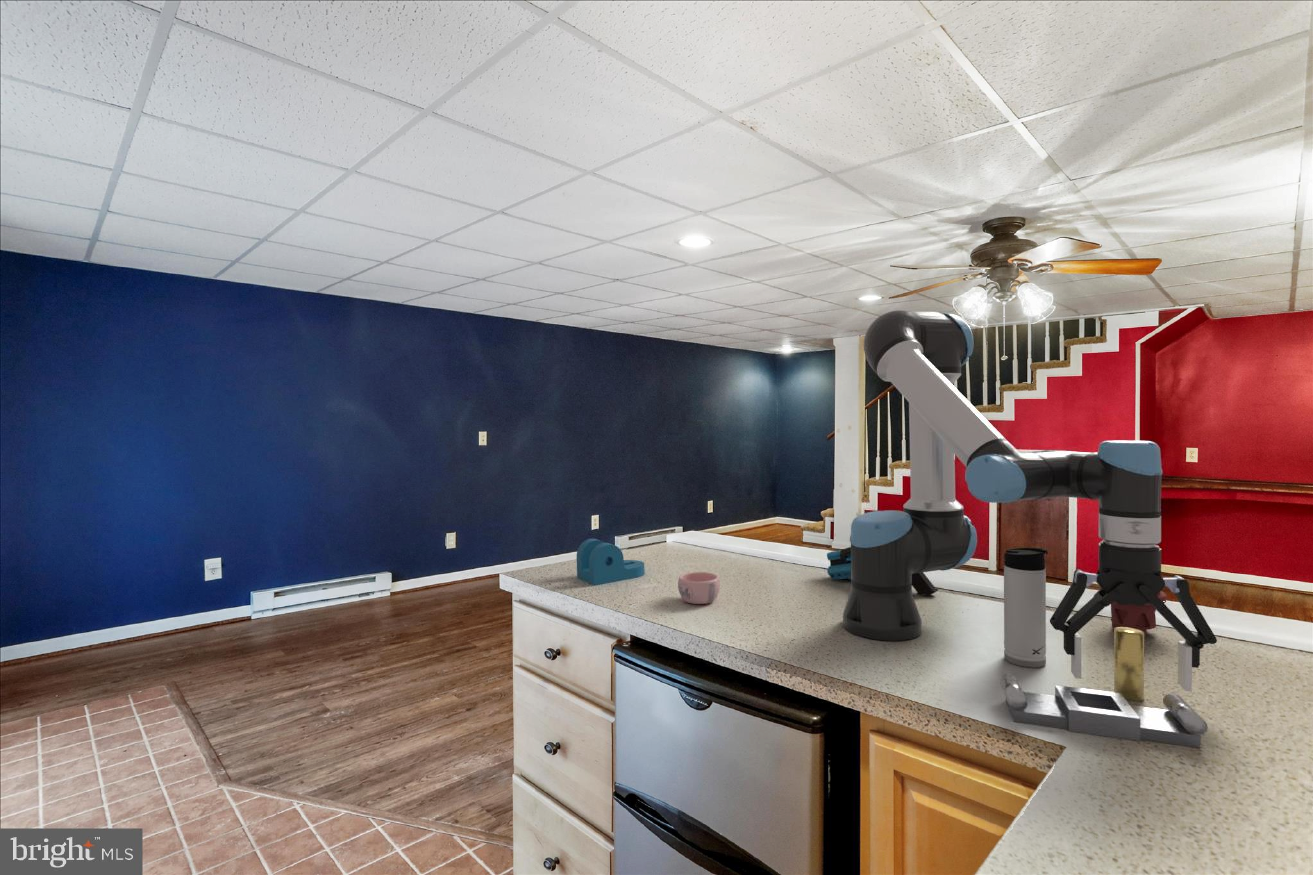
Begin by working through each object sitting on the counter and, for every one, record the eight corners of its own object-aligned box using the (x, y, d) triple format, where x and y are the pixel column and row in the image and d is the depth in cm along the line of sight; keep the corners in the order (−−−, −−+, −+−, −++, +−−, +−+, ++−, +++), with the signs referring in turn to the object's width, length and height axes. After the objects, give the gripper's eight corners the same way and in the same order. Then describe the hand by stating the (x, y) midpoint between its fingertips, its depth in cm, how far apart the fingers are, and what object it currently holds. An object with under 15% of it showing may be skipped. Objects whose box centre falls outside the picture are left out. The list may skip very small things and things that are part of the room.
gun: (848, 598, 167) (834, 543, 170) (944, 590, 149) (926, 528, 151) (833, 605, 162) (818, 548, 164) (930, 597, 143) (912, 533, 146)
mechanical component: (1147, 624, 125) (1178, 641, 115) (1091, 621, 127) (1117, 639, 117) (1147, 563, 124) (1178, 576, 114) (1091, 562, 126) (1117, 574, 116)
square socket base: (1008, 722, 87) (1008, 694, 86) (1000, 697, 94) (999, 672, 94) (1209, 750, 78) (1209, 720, 78) (1182, 721, 86) (1182, 693, 86)
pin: (1118, 699, 93) (1118, 633, 92) (1110, 689, 96) (1111, 625, 96) (1147, 702, 91) (1147, 636, 91) (1139, 692, 95) (1139, 628, 95)
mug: (728, 601, 146) (728, 576, 146) (698, 610, 140) (698, 584, 140) (693, 591, 156) (693, 568, 155) (664, 599, 149) (663, 575, 149)
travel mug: (1048, 671, 103) (1048, 553, 102) (1003, 663, 107) (1002, 549, 106) (1048, 658, 108) (1047, 545, 108) (1005, 651, 112) (1004, 542, 111)
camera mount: (594, 586, 163) (593, 546, 162) (577, 578, 171) (576, 540, 171) (651, 575, 173) (650, 538, 172) (632, 568, 181) (631, 532, 181)
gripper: (1038, 543, 94) (1039, 679, 95) (1248, 552, 85) (1246, 704, 86) (1029, 534, 101) (1029, 661, 102) (1221, 542, 92) (1220, 682, 93)
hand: (1128, 681), depth 94 cm, fingers open, 13 cm apart
